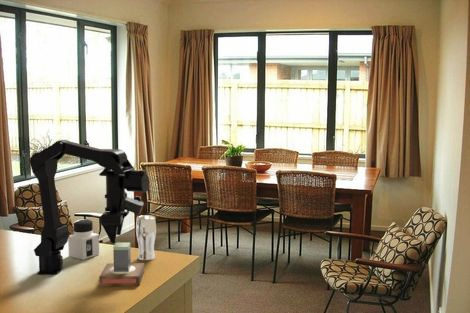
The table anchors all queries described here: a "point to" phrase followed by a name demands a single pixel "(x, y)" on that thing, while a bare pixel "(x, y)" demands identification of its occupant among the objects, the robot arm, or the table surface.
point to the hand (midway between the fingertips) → (116, 239)
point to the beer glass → (146, 236)
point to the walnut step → (122, 276)
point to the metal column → (122, 257)
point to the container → (83, 240)
